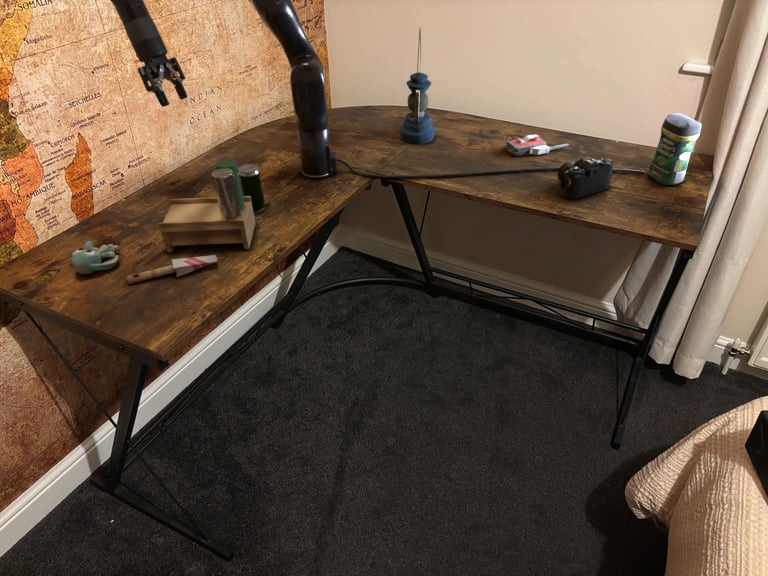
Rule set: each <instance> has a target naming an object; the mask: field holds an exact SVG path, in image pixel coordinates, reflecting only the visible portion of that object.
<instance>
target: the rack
mask: <svg viewBox="0 0 768 576" xmlns="http://www.w3.org/2000/svg"><path fill="white" fill-rule="evenodd" d="M215 168H216V169H214V170H213V171H212V172H211V178H212V183H213V189H214V192H215V197H214V196H213V197H191V198H187V197H186V198H171V199H170V203H171V205H170V207H169V209H168V211H167V213H166V215H165V217H164V219H163V221H162V222H161V221H159V222H158V227H159V230H160V233H161V236H162V240H163V242H164V243H163V244H164V246H165V248H166V252H167V253H173V251H174V249H175V247H178V246H199V245H224V244H226V245H227V244H242V245H243V249H244V250H250V247H251V243H252V239H253V236H254V231H255V227H256V225H257V223H256V219H255V218H256V217H255V213H254V212H253V207H252V202H251V196H243V192H242V187H241V182H240V177H239V168H238V162H237V160H236V159H233V158H222V159H219V160H218V161H217V162H216V163H215Z"/></svg>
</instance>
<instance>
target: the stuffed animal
mask: <svg viewBox="0 0 768 576" xmlns="http://www.w3.org/2000/svg"><path fill="white" fill-rule="evenodd" d="M119 251H120V247H119V245H117V244H115V245H114V244H113V243H110V244H107V245H106V244H103V245H101V246H100V247H99V248H98V247H95V246H94V244H93V241H91V240H88V241H86V243H85V244H84V245H83V246H82V247H80V248H77V249H76V250H75V251H74V252H72V253H71V265H72V267H73V268H74V270H75V271H76V272H77V273H79V274H81V275H89V274H93V273H94V272H96V271H108V270H110V269H113V268H114V267H115V266H116V265H117V264H118V261H119V257H120V256H119V255H118V254H116V253H117V252H119ZM105 258H106V259H107V258H109V259H108V260H106V261H104V262H102V259H105Z"/></svg>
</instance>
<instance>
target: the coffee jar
mask: <svg viewBox="0 0 768 576" xmlns="http://www.w3.org/2000/svg"><path fill="white" fill-rule="evenodd" d="M701 129H702V123H701V122H700V121H697V120H695V119H693V118H691V117H689V116H687V115H685V114H682V112H676V113H670V114H668V115H666V116H665V118H664V120H663V122H662V125H661V128H660V137H659V141H658V144H657V147H656V149H655V152H654V155H653V157H652V160H651V162H650V163H649V167H648V170H647V175H648V176H649V177H650V178H652V180H654V181H656V182H658V183H659V184H662V185H665V186H666V185H667V186H676V185H678V184H681V183H683V181H684V180H685V175H686V173H687V172H686V171H687V169H688V165H689V160H690V157H691V154H692V151H693V147H694V145H695V143H696V141H697V140H698V138H699V137H700V134H701Z"/></svg>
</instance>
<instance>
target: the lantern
mask: <svg viewBox="0 0 768 576" xmlns="http://www.w3.org/2000/svg"><path fill="white" fill-rule="evenodd" d="M418 30H419V31H418V43H419V44H418V48H417V59H419V61H417V62H416V63H417V64H416V65H417V68H416V72H415V73H412V74H411V75H410V76H409V79H408V80H407V81H406V86H407V87H408V89H409V90H410V93H409V94H408V96H407V108H408V109H409V110H410V111H411V112H409V113H406V115H405V117H404V118H405V119H404V120H403V124H402V125H401V126H400V128H399V132H400V136H401V139H402V140H403V141H404V142H405V143H408V144H412V145H422V144H423V145H424V144H428V143H430V142H431V141H433V140H434V137H435V134H436V127H435V125H433V120H432V119H431V115H430V114H429V113H427V112H425V111H426V110H427V108H428V107H429V95H428V94H427V93H426V92H427V91H428V90H429V89H430V86H431V85H432V81H431V80H429V76H428V74H426V73H424V72H422V36H421V34H422V33H421V28H419V29H418Z"/></svg>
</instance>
